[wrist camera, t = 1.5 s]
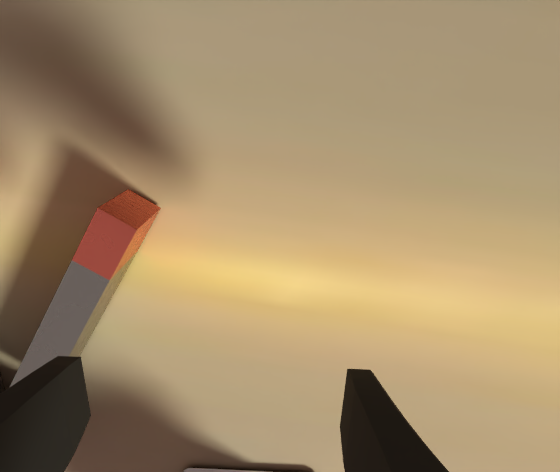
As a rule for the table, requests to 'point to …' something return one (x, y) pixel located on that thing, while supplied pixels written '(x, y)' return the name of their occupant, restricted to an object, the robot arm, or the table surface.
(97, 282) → the tongs jaw
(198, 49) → the table surface
